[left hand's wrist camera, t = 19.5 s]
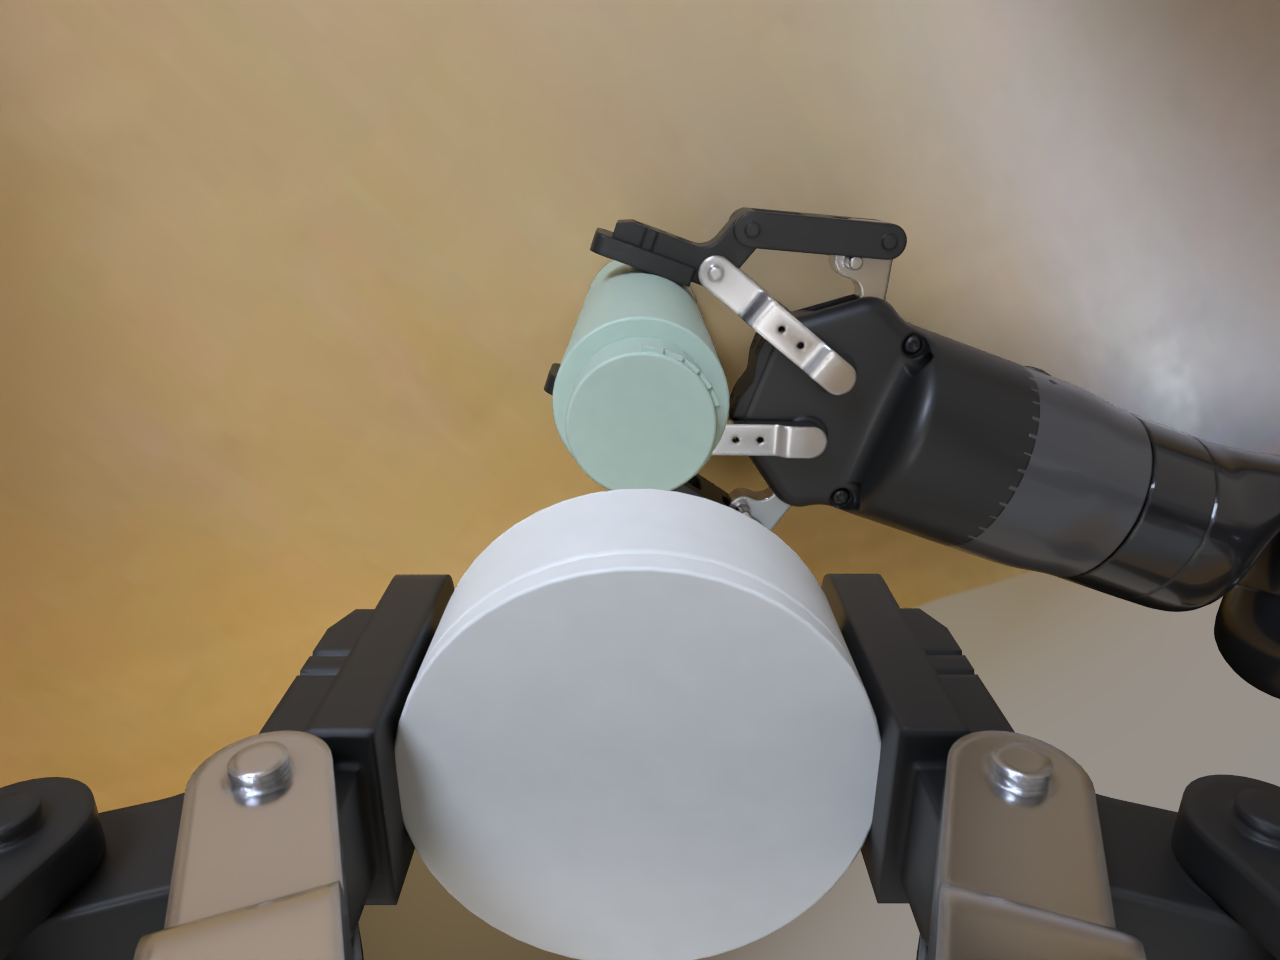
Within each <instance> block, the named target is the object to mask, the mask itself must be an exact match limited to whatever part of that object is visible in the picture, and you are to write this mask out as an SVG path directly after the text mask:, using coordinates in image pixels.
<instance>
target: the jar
mask: <svg viewBox="0 0 1280 960" xmlns="http://www.w3.org/2000/svg"><path fill="white" fill-rule="evenodd" d="M552 405H553V415H554V420H555V424H556V427H557V430H558V433H559V436H560V438H561V439H562V441H563V443H564V445H565V447H566V448H567V449H568V451H569V452H570V454H571V455H572V456H573V457H574V458H575V460H576V462H577V463H578V465H579V466H580V467H581V469H582V470H583V471H584V472H585V473H586V474H587V475H588V476H589V477H590V478H591V479H593V480H594V481H595V482H596V483H598V484H600V485H601V486H603V487H605V488H607V489H609V490H619V489H656V490H665V491H671V490H673V489H676V488H678V487H679V486H681V485H683V484H685V483H686V482H687V481H689V480H690V479H691V478H692V477H693V476H694V475H695V476H696V474H697V473H698V472H699V471H700V470H701V468H702V467H703V466H704V465H705V464H706V462H707V461H709V459H710V457H711V455H712V453H713V451H714V450H715V448H716V447H717V445H718V443H719V441H720V440H721V438H722V435H723V433H724V430H725V428H726V424H727V420H728V416H729V408H730V395H729V388H728V383H727V379H726V376H725V373H724V370H723V368H722V365H721V363H720V360H719V358H718V355H717V353H716V350H715V348H714V345H713V343H712V340H711V338H710V335H709V333H708V330H707V328H706V325H705V323H704V320H703V318H702V315H701V313H700V310H699V308H698V305H697V303H696V300H695V298H694V295H693V293H692V290H691V288H690V285H689V287H686V286H684V285H681V284H678V283H675V282H673V281H670V280H668V279H666V278H663V277H660V276H656V275H654V274H651V273H648V272H645V271H643V270H640V269H637V268H635V267H632V266H629V265H626V264H624V263H621V262H618V261H615V260H612V261H611V262H609V263H608V264H607V265H606V266H604V267H603V268H602V269H601V270H600V272H599V273H598V274H597V275H596V277H595V278H594V280H593V282H592V284H591V286H590V289H589V292H588V294H587V297H586V299H585V302H584V305H583V307H582V310H581V313H580V315H579V318H578V320H577V323H576V326H575V328H574V331H573V334H572V336H571V339H570V341H569V344H568V347H567V349H566V352H565V355H564V357H563V360H562V362H561V365H560V368H559V370H558V373H557V376H556V379H555V383H554V389H553V400H552Z"/></svg>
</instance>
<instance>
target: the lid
mask: <svg viewBox="0 0 1280 960" xmlns="http://www.w3.org/2000/svg"><path fill="white" fill-rule="evenodd" d="M880 750H881V736H880V732H879V727H878V723H877V718H876V715H875V712H874V710H873V707H872V705H871V702H870V700H869V697H868V695H867V692H866V690H865V688H864V685H863V683H862V681H861V678H860V676H859V674H858V671H857V669H856V666H855V664H854V662H853V659H852V657H851V655H850V652H849V650H848V647H847V645H846V643H845V640H844V638H843V636H842V633H841V631H840V629H839V626H838V624H837V622H836V619H835V617H834V614H833V612H832V610H831V607H830V605H829V603H828V600H827V598H826V596H825V594H824V592H823V590H822V589H821V587H820V585H819V583H818V582H817V580H816V578H815V577H814V575H813V573H812V572H811V571H810V570H809V568H808V567H807V566H806V565H805V563H804V562H803V561H802V560H801V558H800V557H799V556H798V555H797V554H796V553H795V552H794V551H793V550H792V549H791V548H790V547H789V546H788V545H787V544H786V543H785V542H784V541H782V540H781V539H780V538H779V537H778V536H777V535H775V534H774V533H773V532H771V531H770V530H768V529H767V528H766V527H764V526H763V525H761V524H760V523H758V522H757V521H755V520H754V519H752V518H750V517H748V516H746V515H744V514H742V513H740V512H738V511H736V510H734V509H733V508H730V507H727V506H725V505H722V504H719V503H717V502H714V501H711V500H709V499H706V498H702V497H698V496H693V495H689V494H685V493H680V492H674V491H665V490H656V489H619V490H611V491H604V492H597V493H591V494H587V495H583V496H580V497H576V498H572V499H568V500H565V501H562V502H560V503H557V504H555V505H552V506H550V507H547V508H545V509H542V510H540V511H538V512H536V513H534V514H533V515H531V516H529V517H527V518H526V519H524V520H522V521H520V522H519V523H517V524H515V525H514V526H512V527H511V528H510V529H508V530H507V531H506V532H504V533H503V534H502V535H501V536H499V537H498V538H497V539H495V540H494V541H493V542H492V543H491V544H490V545H489V546H488V547H487V548H486V549H485V550H484V551H483V552H482V553H481V554H480V555H479V556H478V557H477V558H476V559H475V560H474V562H473V563H472V564H471V566H470V567H469V568H468V570H467V571H466V572H465V574H464V575H463V576H462V578H461V579H460V581H459V583H458V585H457V587H456V589H455V590H454V592H453V594H452V596H451V598H450V600H449V602H448V604H447V607H446V609H445V611H444V614H443V616H442V618H441V621H440V623H439V625H438V628H437V630H436V632H435V634H434V637H433V639H432V641H431V644H430V646H429V648H428V651H427V653H426V655H425V658H424V660H423V662H422V665H421V667H420V669H419V672H418V674H417V677H416V679H415V681H414V683H413V686H412V688H411V690H410V692H409V695H408V697H407V700H406V703H405V706H404V708H403V711H402V714H401V717H400V720H399V723H398V728H397V734H396V739H395V747H394V751H395V761H396V770H397V778H398V786H399V794H400V802H401V810H402V816H403V822H404V825H405V828H406V830H407V832H408V834H409V836H410V838H411V841H412V843H413V845H414V847H415V849H416V851H417V852H418V854H419V855H420V857H421V858H422V860H423V861H424V863H425V864H426V866H427V867H428V869H429V870H430V872H431V873H432V874H433V875H434V876H435V878H436V879H437V880H438V881H439V882H440V883H441V884H442V885H443V886H444V888H445V889H446V890H447V891H448V892H449V893H450V894H451V895H452V896H453V897H455V898H456V899H457V900H458V901H459V902H460V903H461V904H463V905H464V906H465V907H466V908H467V909H468V910H469V911H471V912H472V913H474V914H475V915H477V916H478V917H480V918H481V919H483V920H484V921H485V922H487V923H488V924H490V925H491V926H493V927H495V928H497V929H499V930H501V931H502V932H504V933H506V934H508V935H510V936H512V937H514V938H515V939H518V940H520V941H523V942H525V943H528V944H530V945H533V946H535V947H538V948H540V949H543V950H546V951H549V952H553V953H556V954H560V955H563V956H567V957H570V958H575V959H581V960H696V959H701V958H706V957H710V956H715V955H718V954H721V953H724V952H727V951H730V950H734V949H737V948H740V947H742V946H745V945H747V944H749V943H752V942H754V941H756V940H759V939H761V938H763V937H765V936H767V935H769V934H771V933H773V932H774V931H776V930H778V929H780V928H782V927H783V926H785V925H787V924H789V923H790V922H792V921H793V920H794V919H796V918H797V917H799V916H800V915H801V914H803V913H804V912H805V911H807V910H808V909H810V908H811V907H812V906H813V905H815V904H816V903H817V902H818V901H819V900H820V899H821V898H822V897H823V896H824V895H825V894H826V893H827V892H828V891H830V890H831V889H832V888H833V887H834V885H835V884H836V883H837V882H838V881H839V879H840V878H841V877H842V876H843V875H844V873H845V872H846V871H847V870H848V869H849V867H850V866H851V864H852V862H853V861H854V859H855V857H856V856H857V854H858V853H859V851H860V850H861V848H862V846H863V844H864V842H865V840H866V838H867V835H868V833H869V831H870V829H871V824H872V817H873V809H874V801H875V793H876V784H877V776H878V768H879V760H880Z"/></svg>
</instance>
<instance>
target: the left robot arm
mask: <svg viewBox="0 0 1280 960" xmlns="http://www.w3.org/2000/svg"><path fill="white" fill-rule="evenodd" d="M821 589H822V590H823V592H824V594H825V596H826V598H827V600H828V603H829V605H830V607H831V610H832V612H833V614H834V617H835V619H836V622H837V624H838V626H839V629H840V631H841V633H842V636H843V638H844V640H845V643H846V645H847V647H848V650H849V652H850V655H851V657H852V659H853V662H854V664H855V666H856V669H857V671H858V674H859V676H860V678H861V681H862V683H863V685H864V688H865V690H866V692H867V695H868V697H869V700H870V702H871V705H872V707H873V710H874V712H875V715H876V718H877V723H878V727H879V732H880V736H881V750H880V760H879V768H878V776H877V784H876V793H875V801H874V809H873V817H872V824H871V829H870V831H869V833H868V835H867V838H866V840H865V842H864V844H863V846H862V848H861V852H862V855H863V859H864V862H865V865H866V868H867V871H868V874H869V877H870V880H871V884H872V887H873V890H874V893H875V896H876V899H877V903H909V904H910V907H911V909H912V912H913V915H914V918H915V921H916V924H917V926H918V929H919V932H920V937H919V943H918V950H917V958H916V960H1280V787H1278V786H1276V785H1273V784H1270V783H1267V782H1263V781H1260V780H1256V779H1252V778H1247V777H1242V776H1234V775H1210V776H1205V777H1201V778H1198V779H1196V780H1194V781H1192V782H1191V783H1190V784H1189V785H1188V786H1187V787H1186V789H1185V791H1184V793H1183V797H1182V800H1181V804H1180V807H1179V811H1178V812H1173V811H1169V810H1164V809H1160V808H1155V807H1150V806H1146V805H1141V804H1137V803H1132V802H1127V801H1123V800H1118V799H1114V798H1110V797H1106V796H1102V795H1099V794H1096V793H1095V790H1094V786H1093V783H1092V781H1091V779H1090V777H1089V776H1088V774H1087V773H1086V772H1085V770H1084V769H1083V768H1082V767H1081V766H1080V765H1079V764H1078V763H1077V762H1076V761H1075V760H1074V759H1072V758H1071V757H1070V756H1068V755H1067V754H1066V753H1064V752H1063V751H1061V750H1059V749H1058V748H1056V747H1054V746H1052V745H1050V744H1048V743H1046V742H1043V741H1041V740H1038V739H1036V738H1033V737H1030V736H1026V735H1022V734H1019V733H1015V732H1014V730H1013V729H1012V727H1011V726H1010V724H1009V723H1008V721H1007V720H1006V718H1005V716H1004V715H1003V713H1002V712H1001V710H1000V709H999V707H998V706H997V704H996V703H995V701H994V700H993V698H992V696H991V695H990V693H989V692H988V690H987V689H986V687H985V686H984V684H983V683H982V681H981V680H980V678H979V676H978V675H975V674H974V669H973V667H972V666H971V664H970V663H969V661H968V660H967V658H966V656H965V655H962V650H961V649H960V647H959V646H958V644H957V643H956V641H955V640H954V638H953V636H952V635H951V633H950V632H949V630H948V629H947V628H946V627H945V626H943V625H942V624H941V623H939V622H938V621H936V620H935V619H933V618H932V617H931V616H929V615H928V614H926V613H925V612H923V611H922V610H921V609H900V607H899V606H898V604H897V602H896V600H895V599H894V597H893V595H892V593H891V592H890V590H889V588H888V587H887V585H886V583H885V581H884V580H883V578H882V576H881V575H879V574H826V575H825V576H824V579H823V582H822V587H821ZM453 592H454V585H453V581H452V578H451V576H450V575H396V576H394V578H393V579H392V581H391V582H390V584H389V586H388V588H387V589H386V591H385V593H384V594H383V596H382V598H381V600H380V601H379V603H378V605H377V606H376V608H375V609H356V610H354V611H353V612H351V613H350V614H349V615H347V616H346V617H344V618H343V619H341V620H340V621H339V622H337V623H336V624H334V625H333V626H331V627H330V628H329V629H328V630H327V631H326V633H325V634H324V636H323V637H322V639H321V640H320V642H319V643H318V645H317V646H316V648H315V649H314V651H313V656H310V657H309V658H308V660H307V661H306V663H305V664H304V666H303V667H302V669H301V671H300V676H297V677H296V678H295V680H294V681H293V683H292V684H291V686H290V687H289V689H288V690H287V692H286V693H285V695H284V696H283V698H282V699H281V701H280V702H279V704H278V705H277V707H276V708H275V710H274V711H273V713H272V715H271V716H270V718H269V719H268V721H267V722H266V724H265V725H264V727H263V728H262V730H261V731H260V733H259V734H257V735H254V736H250V737H247V738H244V739H242V740H239V741H236V742H234V743H232V744H230V745H228V746H226V747H224V748H222V749H221V750H219V751H217V752H216V753H214V754H213V755H212V756H210V757H209V758H207V759H206V760H205V761H204V762H203V763H202V764H201V765H200V766H199V767H198V768H197V769H196V770H195V772H194V773H193V774H192V776H191V777H190V779H189V781H188V783H187V786H186V790H185V793H182V794H179V795H176V796H173V797H169V798H166V799H162V800H158V801H153V802H148V803H144V804H139V805H135V806H130V807H125V808H121V809H116V810H111V811H107V812H102V813H98V810H97V807H96V803H95V800H94V796H93V794H92V792H91V790H90V789H89V788H88V787H87V786H86V785H85V784H84V783H82V782H80V781H78V780H74V779H70V778H62V777H47V778H39V779H32V780H27V781H23V782H18V783H15V784H12V785H8V786H5V787H2V788H0V960H364V959H363V950H362V943H361V937H360V931H359V924H358V922H359V919H360V916H361V913H362V911H363V908H364V905H397V902H398V899H399V896H400V892H401V889H402V886H403V883H404V880H405V877H406V874H407V871H408V868H409V865H410V861H411V859H412V855H413V852H414V849H415V847H414V845H413V843H412V841H411V838H410V836H409V834H408V832H407V830H406V828H405V825H404V822H403V816H402V810H401V802H400V794H399V786H398V778H397V770H396V761H395V751H394V747H395V739H396V734H397V728H398V723H399V720H400V717H401V714H402V711H403V708H404V706H405V703H406V700H407V697H408V695H409V692H410V690H411V688H412V686H413V683H414V681H415V679H416V677H417V674H418V672H419V669H420V667H421V665H422V662H423V660H424V658H425V655H426V653H427V651H428V648H429V646H430V644H431V641H432V639H433V637H434V634H435V632H436V630H437V628H438V625H439V623H440V621H441V618H442V616H443V614H444V611H445V609H446V607H447V604H448V602H449V600H450V598H451V596H452V594H453Z"/></svg>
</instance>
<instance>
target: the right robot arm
mask: <svg viewBox="0 0 1280 960" xmlns="http://www.w3.org/2000/svg"><path fill="white" fill-rule="evenodd" d="M906 243H907V238H906V234H905V232H904V230H903V229H902V228H901V227H900V226H898V225H895V224H891V223H887V222H883V221H879V220H875V219H864V218H853V217H842V216H832V215H821V214H810V213H799V212H788V211H777V210H766V209H755V208H740V209H738V210H736V211H735V212H733V214H732V215H731V216H730V218H729V221H728V222H727V223H726V224H725V226H724V227H723V228H722V229H721V231H720V232H719V233H718V234H717V235H716V236H715V237H714V238H713V239H712V240H710V241H708V242H705V243H695V242H692V241H689V240H686V239H684V238H681V237H678V236H676V235H673V234H670V233H668V232H665V231H662V230H659V229H657V228H654V227H651V226H649V225H646V224H643V223H641V222H638V221H635V220H633V219H632V220H618V221H617V224H616V227H615V230H614V233H613V232H611V231H608V230H605V229H602V228H597V230H596V232H595V235H594V238H593V241H592V244H591V247H590V250H591V251H593V252H595V253H597V254H599V255H602V256H605V257H607V258H610V259H613V260H615V261H618V262H621V263H624V264H626V265H629V266H632V267H635V268H637V269H640V270H643V271H645V272H648V273H651V274H654V275H656V276H660V277H663V278H666V279H668V280H670V281H673V282H675V283H678V284H681V285H684V286H686V287H689V285H690V283H691V282H694V283H697V284H700V285H702V286H704V287H705V288H706V289H708V290H709V291H710V292H711V293H712V294H714V295H715V296H716V297H717V298H718V299H720V300H721V301H722V302H723V303H724V304H726V305H727V306H728V307H729V308H730V309H732V310H733V311H734V312H735V313H736V314H738V315H739V316H740V317H741V318H742V319H743V320H744V321H745V322H746V323H747V324H748V325H750V326H751V327H752V328H753V329H754V330H755V331H756V334H755V336H754V339H753V341H752V344H751V346H750V351H749V359H748V366H747V369H746V370H745V372H744V373H743V374H742V376H741V377H740V378H739V380H738V381H737V382H736V384H735V385H734V388H733V390H732V393H731V395H730V408H729V417H728V420H727V424H726V428H725V430H724V433H723V435H722V438H721V440H720V441H719V443H718V445H717V447H716V448H715V450H714V451H713V453H712V455H748V456H749V457H750V459H751V460H752V462H753V463H754V465H755V466H756V468H757V469H758V471H759V472H760V474H761V475H762V477H763V478H764V479H765V481H766V482H767V484H768V485H769V487H768V488H767V489H765V490H763V491H760V492H753V491H750V490H748V489H745V488H737V489H734V490H733V491H731V492H730V493H729V494H728V493H726V492H725V491H723V490H722V489H720V488H719V487H717V486H716V485H714V484H713V483H711V482H710V481H708V480H707V479H705V478H703V477H702V476H700V475H699V474H696V476H695V475H694V476H693V477H692V478H691V479H690V480H689V481H687V482H686V483H685V484H683V485H681V486H679V487H678V488H676V489H673V490H671V491H674V492H680V493H685V494H689V495H693V496H698V497H702V498H706V499H709V500H711V501H714V502H717V503H719V504H722V505H725V506H727V507H730V508H733V509H734V510H736V511H738V512H740V513H742V514H744V515H746V516H748V517H750V518H752V519H754V520H755V521H757V522H758V523H760V524H761V525H763V526H764V527H766V528H767V529H768V530H770V531H771V530H772V529H773V528H774V527H775V525H776V524H777V523H778V522H779V520H780V519H781V518H782V517H783V515H784V514H785V513H786V512H787V510H788V509H789V508H790V507H791V506H798V507H800V506H808V505H816V504H822V505H829V506H833V507H836V508H838V509H841V510H843V511H846V512H849V513H852V514H855V515H858V516H861V517H864V518H866V519H869V520H872V521H875V522H878V523H881V524H884V525H887V526H890V527H893V528H896V529H899V530H902V531H905V532H908V533H911V534H914V535H917V536H919V537H922V538H925V539H928V540H931V541H934V542H937V543H940V544H943V545H946V546H949V547H952V548H955V549H958V550H960V551H963V552H966V553H969V554H972V555H975V556H978V557H981V558H984V559H987V560H990V561H993V562H996V563H1000V564H1003V565H1006V566H1011V567H1015V568H1020V569H1026V570H1032V571H1037V572H1042V573H1046V574H1050V575H1053V576H1057V577H1059V578H1062V579H1065V580H1068V581H1071V582H1074V583H1077V584H1080V585H1083V586H1086V587H1088V588H1091V589H1094V590H1097V591H1100V592H1103V593H1106V594H1109V595H1112V596H1115V597H1118V598H1121V599H1124V600H1127V601H1130V602H1133V603H1137V604H1139V605H1142V606H1146V607H1149V608H1153V609H1158V610H1163V611H1172V612H1182V611H1190V610H1195V609H1198V608H1201V607H1203V606H1206V605H1209V604H1211V603H1213V602H1215V601H1216V600H1218V599H1219V598H1221V597H1222V596H1223V598H1222V601H1221V604H1220V607H1219V610H1218V612H1217V615H1216V620H1215V627H1214V636H1215V640H1216V643H1217V646H1218V649H1219V651H1220V653H1221V654H1222V656H1223V658H1224V659H1225V661H1226V662H1227V663H1228V664H1229V665H1230V667H1231V668H1232V669H1233V670H1234V671H1235V672H1236V673H1237V674H1238V675H1239V676H1240V677H1241V678H1242V679H1244V680H1245V681H1246V682H1248V683H1249V684H1251V685H1252V686H1254V687H1255V688H1257V689H1259V690H1261V691H1263V692H1265V693H1267V694H1269V695H1271V696H1273V697H1276V698H1279V699H1280V455H1270V454H1261V453H1255V452H1250V451H1244V450H1240V449H1235V448H1230V447H1226V446H1222V445H1218V444H1215V443H1211V442H1208V441H1205V440H1202V439H1199V438H1196V437H1194V436H1191V435H1188V434H1186V433H1183V432H1180V431H1178V430H1175V429H1172V428H1169V427H1167V426H1164V425H1161V424H1159V423H1156V422H1153V421H1151V420H1148V419H1145V418H1143V417H1140V416H1137V415H1134V414H1132V413H1129V412H1127V411H1124V410H1122V409H1120V408H1117V407H1115V406H1114V405H1112V404H1110V403H1108V402H1106V401H1104V400H1103V399H1101V398H1099V397H1098V396H1096V395H1094V394H1092V393H1090V392H1088V391H1086V390H1084V389H1082V388H1080V387H1078V386H1075V385H1073V384H1070V383H1068V382H1065V381H1062V380H1059V379H1057V378H1054V377H1052V376H1051V375H1049V374H1048V373H1046V372H1045V371H1043V370H1041V369H1038V368H1034V367H1030V366H1022V365H1019V364H1017V363H1014V362H1011V361H1009V360H1006V359H1003V358H1000V357H998V356H995V355H992V354H989V353H987V352H984V351H981V350H979V349H976V348H973V347H971V346H968V345H965V344H963V343H960V342H957V341H955V340H952V339H949V338H947V337H944V336H941V335H939V334H936V333H933V332H931V331H928V330H925V329H923V328H920V327H917V326H915V325H912V324H910V323H908V322H905V321H904V320H903V319H902V318H901V317H900V316H899V315H898V314H897V312H896V311H895V309H894V308H893V307H892V306H891V305H890V304H889V303H888V302H886V301H885V297H886V292H887V287H888V281H889V276H890V271H891V265H892V260H893V259H895V258H896V257H898V256H899V255H900V254H901V253H902V252H903V251H904V249H905V247H906ZM756 248H759V249H770V250H781V251H792V252H803V253H814V254H825V255H830V256H829V262H830V266H831V268H832V269H833V270H834V271H835V272H836V273H838V274H840V275H841V276H843V277H846V278H850V279H851V280H852V282H853V284H854V287H855V294H852V295H849V296H845V297H842V298H838V299H835V300H831V301H828V302H824V303H821V304H817V305H814V306H810V307H807V308H804V309H800V310H797V311H793V312H791V311H789V310H788V309H787V308H786V307H785V306H784V305H782V304H781V303H780V302H779V301H778V300H776V299H775V298H774V297H773V296H772V295H771V294H769V293H768V292H767V291H766V290H765V289H764V288H762V287H761V286H760V285H759V284H758V283H756V282H755V281H754V280H753V279H751V278H750V277H749V276H748V275H747V274H745V273H744V272H743V271H742V270H741V269H740V267H741V266H742V264H743V263H744V262H745V261H746V260H747V259H748V257H749V256H750V255H751V254H752V253H753V252H754V250H755V249H756ZM560 365H561V364H557V363H554V364H552V367H551V369H550V371H549V374H548V377H547V381H546V384H545V387H544V390H545V391H546V392H547V393H549V394H551V395H553V389H554V383H555V379H556V376H557V373H558V370H559V368H560ZM734 437H736V439H733V438H734Z"/></svg>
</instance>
